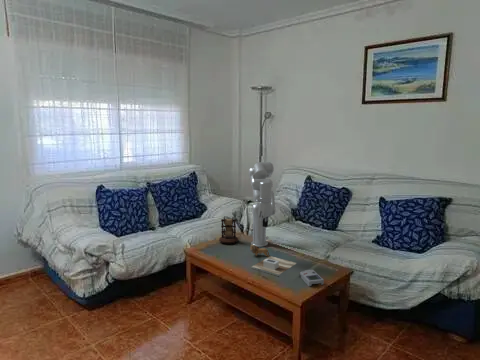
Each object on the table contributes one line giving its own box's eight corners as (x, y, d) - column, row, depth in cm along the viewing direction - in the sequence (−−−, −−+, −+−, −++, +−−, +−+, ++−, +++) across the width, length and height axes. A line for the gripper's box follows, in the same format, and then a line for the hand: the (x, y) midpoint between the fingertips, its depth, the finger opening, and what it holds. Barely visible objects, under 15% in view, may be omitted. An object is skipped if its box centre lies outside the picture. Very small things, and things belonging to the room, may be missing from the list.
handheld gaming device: (313, 275, 206) (313, 269, 206) (323, 285, 192) (324, 279, 191) (299, 276, 204) (299, 270, 204) (309, 287, 190) (309, 281, 190)
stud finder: (267, 264, 218) (267, 258, 217) (278, 267, 213) (278, 260, 213) (263, 267, 214) (263, 260, 213) (274, 270, 209) (274, 263, 209)
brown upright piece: (239, 239, 272) (239, 214, 269) (237, 245, 258) (237, 219, 255) (220, 238, 274) (220, 214, 271) (217, 244, 259) (217, 219, 256)
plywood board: (270, 258, 232) (270, 256, 232) (296, 265, 220) (296, 263, 220) (251, 268, 215) (251, 266, 215) (279, 277, 203) (279, 274, 203)
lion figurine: (249, 258, 231) (249, 246, 230) (249, 256, 237) (249, 243, 235) (271, 259, 230) (271, 246, 229) (271, 256, 236) (271, 243, 234)
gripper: (266, 196, 232) (266, 222, 236) (254, 201, 221) (254, 228, 224) (276, 198, 228) (275, 224, 232) (264, 203, 216) (264, 230, 220)
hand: (265, 226), depth 228 cm, fingers closed
